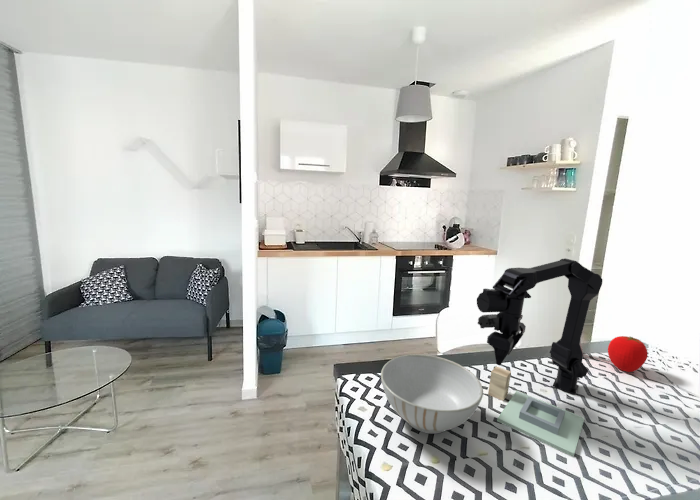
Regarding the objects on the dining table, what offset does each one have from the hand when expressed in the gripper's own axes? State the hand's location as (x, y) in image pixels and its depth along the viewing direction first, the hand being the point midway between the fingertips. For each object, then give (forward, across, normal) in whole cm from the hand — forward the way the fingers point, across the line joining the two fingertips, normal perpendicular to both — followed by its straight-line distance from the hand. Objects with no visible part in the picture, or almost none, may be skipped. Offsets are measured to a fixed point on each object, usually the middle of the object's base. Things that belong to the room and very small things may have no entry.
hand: (502, 359), depth 103 cm
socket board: (+12, +4, +13) cm, 18 cm away
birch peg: (+12, 0, 0) cm, 12 cm away
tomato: (+11, -51, +30) cm, 60 cm away
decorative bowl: (+13, +25, -11) cm, 31 cm away
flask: (+11, -51, +14) cm, 54 cm away
